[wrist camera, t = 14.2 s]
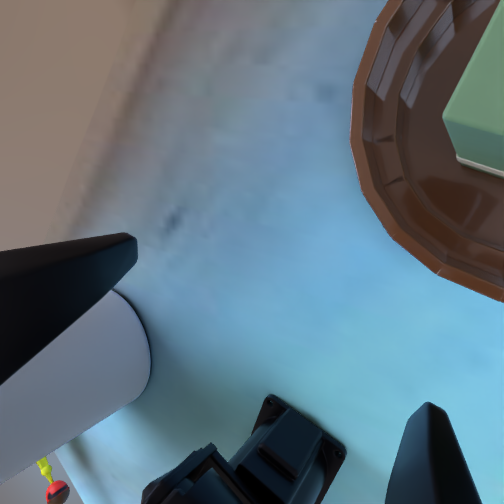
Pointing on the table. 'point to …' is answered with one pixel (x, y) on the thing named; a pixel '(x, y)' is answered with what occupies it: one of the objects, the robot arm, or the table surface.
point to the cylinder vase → (73, 384)
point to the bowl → (426, 141)
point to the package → (481, 104)
